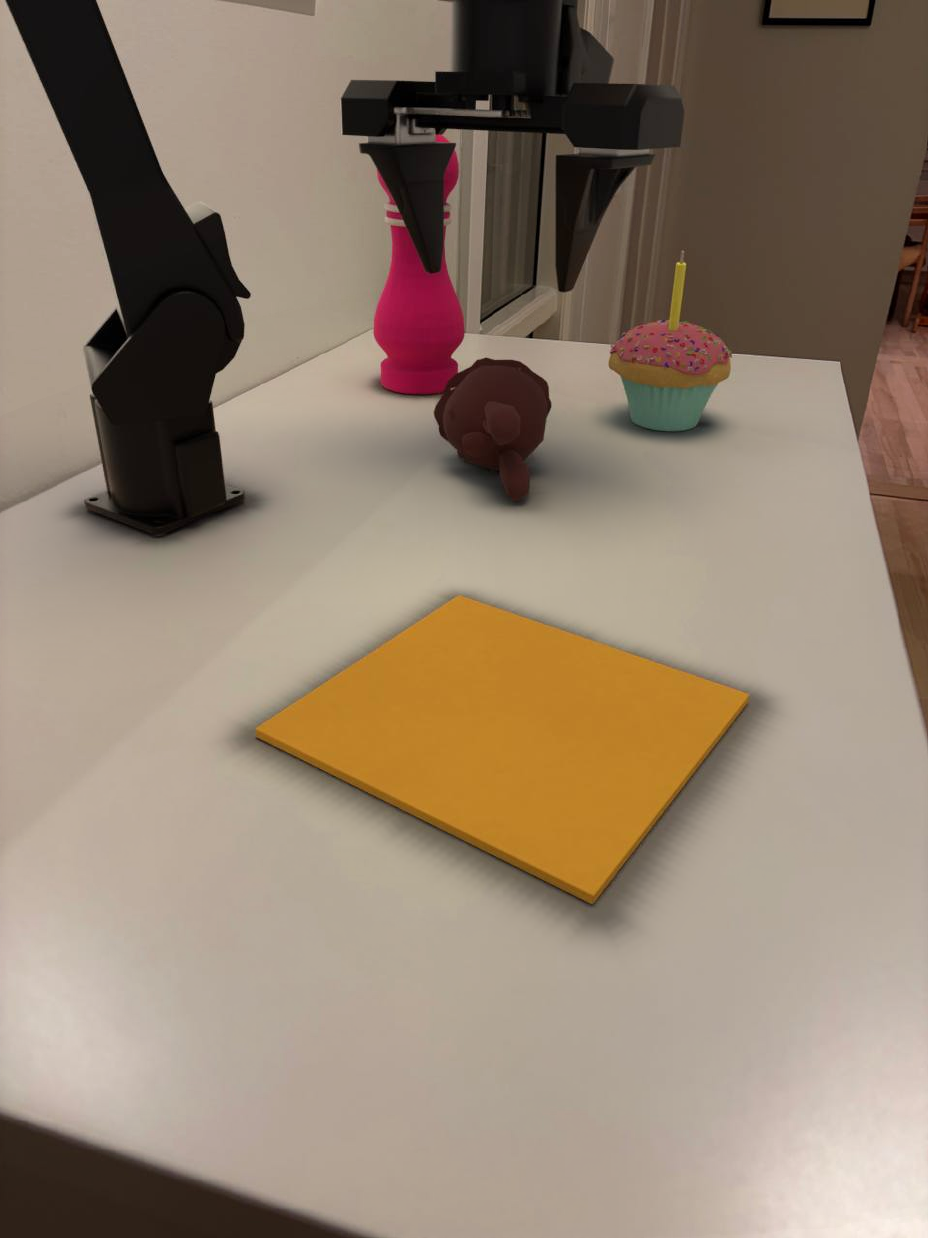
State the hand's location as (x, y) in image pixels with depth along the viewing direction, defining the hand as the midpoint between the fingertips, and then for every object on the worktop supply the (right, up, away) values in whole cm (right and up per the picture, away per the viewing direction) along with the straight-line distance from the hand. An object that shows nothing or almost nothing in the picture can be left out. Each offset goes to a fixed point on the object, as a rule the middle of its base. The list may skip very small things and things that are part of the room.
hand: (496, 281), depth 54 cm
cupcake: (+13, -5, +14) cm, 20 cm away
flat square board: (0, -23, -19) cm, 30 cm away
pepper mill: (-6, -1, +22) cm, 22 cm away
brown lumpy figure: (0, -10, +6) cm, 11 cm away
